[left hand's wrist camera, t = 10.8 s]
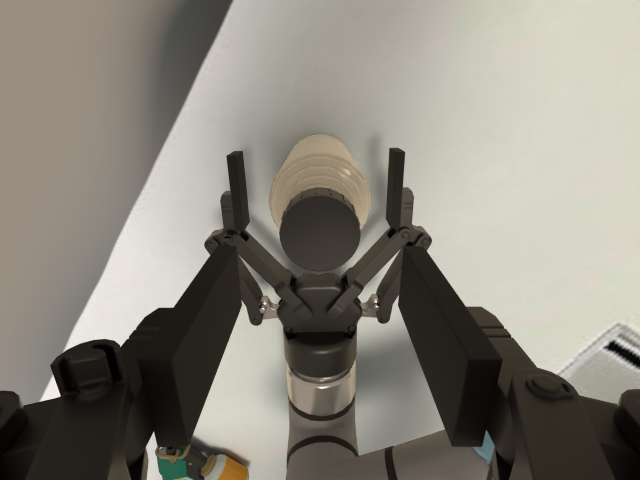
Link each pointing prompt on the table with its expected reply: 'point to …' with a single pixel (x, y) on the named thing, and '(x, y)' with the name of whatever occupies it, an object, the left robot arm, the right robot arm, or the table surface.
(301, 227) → the cap
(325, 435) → the right robot arm
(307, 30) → the table surface
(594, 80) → the table surface
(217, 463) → the spray gun
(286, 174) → the bottle
